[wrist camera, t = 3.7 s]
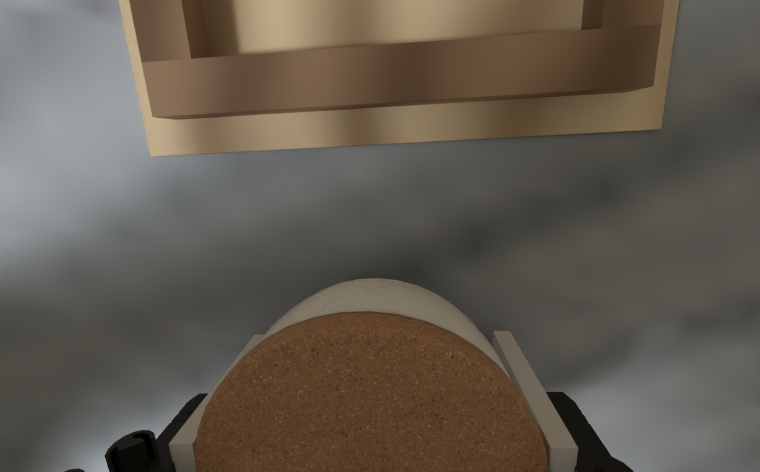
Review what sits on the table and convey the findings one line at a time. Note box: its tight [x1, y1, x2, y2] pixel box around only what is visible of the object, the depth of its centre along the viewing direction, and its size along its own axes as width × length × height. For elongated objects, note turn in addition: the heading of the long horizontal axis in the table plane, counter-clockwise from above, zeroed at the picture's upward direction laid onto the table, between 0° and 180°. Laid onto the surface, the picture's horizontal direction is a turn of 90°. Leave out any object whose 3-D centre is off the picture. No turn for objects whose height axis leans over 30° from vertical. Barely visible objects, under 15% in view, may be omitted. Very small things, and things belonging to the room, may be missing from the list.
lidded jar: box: [195, 278, 549, 472], centre depth 13 cm, size 11×11×9 cm
